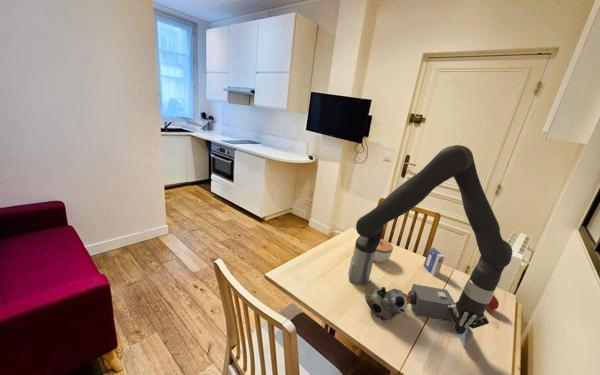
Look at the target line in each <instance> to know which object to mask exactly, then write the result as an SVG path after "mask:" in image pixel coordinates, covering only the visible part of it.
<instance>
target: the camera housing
mask: <svg viewBox="0 0 600 375" xmlns="http://www.w3.org/2000/svg"><path fill="white" fill-rule="evenodd" d="M411 286H412V287H411V288H410V290H409V291H408V293H407V295H408V296H411V298H410V302H409V304H410V308H411V309H412V312H413V315H414V316H417V317H423V318H427V319H434V320H439V321H444V322H449V323H451V321H452V316H451V314H450V312H449V310H448V307H447V304H451V305H455V303H456V302H455V300H454V299H453V297H452V296H451V294H450V293H449V290H448V289H444V288H439V287H431V286H426V285H421V284H416V283H413V284H412V285H411ZM409 304H408V305H409ZM455 310H456V309H455Z"/></svg>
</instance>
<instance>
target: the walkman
mask: <svg viewBox="0 0 600 375" xmlns="http://www.w3.org/2000/svg"><path fill="white" fill-rule="evenodd" d="M444 259H445V255H444V254H442V253H441V252H440V251H439V250H438V249H437V248H435V247H429V248H428V251H427V254H426V257H425V260H424V264H423V267H424V269H425V270H426V271H427V272H428V273H429V274H430V275H431V276H433V277H437V276H439V274H440V271H441V268H442V265H443V262H444Z"/></svg>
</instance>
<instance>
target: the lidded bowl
mask: <svg viewBox="0 0 600 375" xmlns="http://www.w3.org/2000/svg"><path fill="white" fill-rule="evenodd" d="M393 250H394V246H393V244H392V243H391V242H389V241H388V240H385V239H383V238H381V240H380V243H379V245H378V247H377V248H376V252H375V256H374V261H373V262H375V263H377V264H378V263H379V264H381V263H384V262H386V261H387V260H389V259H390V257H391V255H392V252H393Z"/></svg>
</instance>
